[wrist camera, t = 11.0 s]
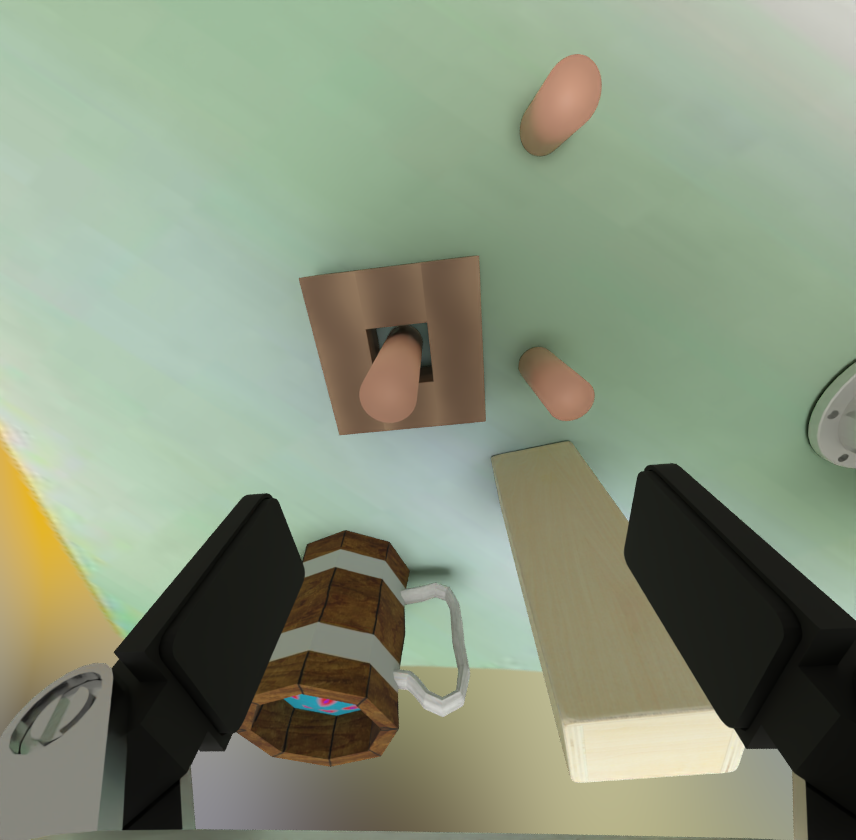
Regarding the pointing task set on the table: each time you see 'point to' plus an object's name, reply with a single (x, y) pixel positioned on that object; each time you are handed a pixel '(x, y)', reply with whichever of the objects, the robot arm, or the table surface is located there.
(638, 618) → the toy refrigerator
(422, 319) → the hole block
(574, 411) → the pin medium
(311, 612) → the mug
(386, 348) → the pin long
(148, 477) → the table surface
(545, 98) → the pin short
